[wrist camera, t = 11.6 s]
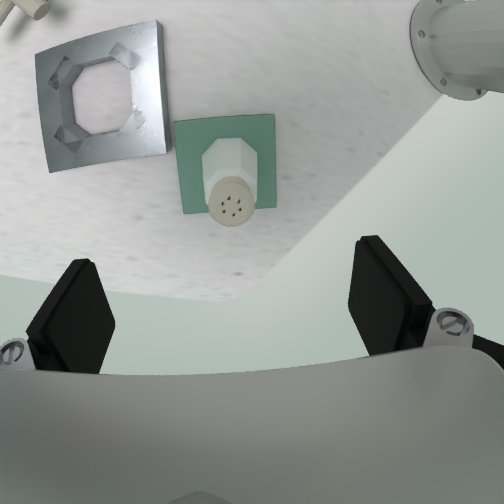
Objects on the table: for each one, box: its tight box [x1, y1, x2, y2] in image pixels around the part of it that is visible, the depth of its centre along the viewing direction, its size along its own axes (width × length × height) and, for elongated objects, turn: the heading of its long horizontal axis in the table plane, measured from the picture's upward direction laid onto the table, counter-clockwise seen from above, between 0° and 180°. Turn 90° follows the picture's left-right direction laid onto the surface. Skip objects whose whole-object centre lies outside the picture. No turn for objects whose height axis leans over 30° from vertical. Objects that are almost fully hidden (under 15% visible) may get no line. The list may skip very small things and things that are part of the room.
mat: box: [173, 114, 276, 214], centre depth 29 cm, size 9×9×1 cm
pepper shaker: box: [202, 138, 257, 226], centre depth 24 cm, size 5×5×11 cm
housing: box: [35, 20, 171, 173], centre depth 24 cm, size 12×12×3 cm
